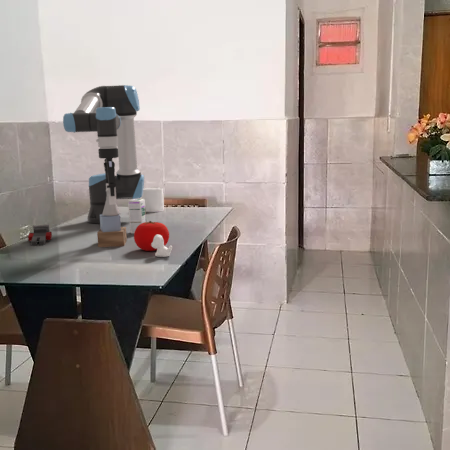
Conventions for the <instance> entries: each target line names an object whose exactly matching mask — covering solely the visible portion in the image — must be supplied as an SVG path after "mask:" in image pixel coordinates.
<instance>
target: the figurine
mask: <svg viewBox="0 0 450 450" xmlns="http://www.w3.org/2000/svg"><path fill="white" fill-rule="evenodd" d="M151 244H152V247H153V248H155V249H156V248H157V250H156V252H155V254H154V255H155V257H158V258H167V257H169V256H170V255H171V252H172V250H173V246H172V245H169V246H168V247H167V246H166V245H165V246H164V240H163V237H162V236H161V235H158V234H157V235H155V236H154V239H153V242H152V243H151Z"/></svg>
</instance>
